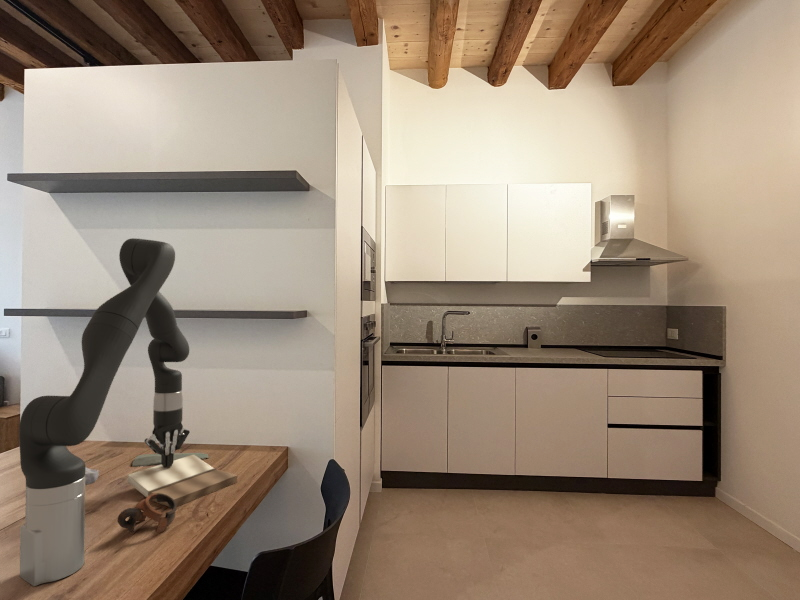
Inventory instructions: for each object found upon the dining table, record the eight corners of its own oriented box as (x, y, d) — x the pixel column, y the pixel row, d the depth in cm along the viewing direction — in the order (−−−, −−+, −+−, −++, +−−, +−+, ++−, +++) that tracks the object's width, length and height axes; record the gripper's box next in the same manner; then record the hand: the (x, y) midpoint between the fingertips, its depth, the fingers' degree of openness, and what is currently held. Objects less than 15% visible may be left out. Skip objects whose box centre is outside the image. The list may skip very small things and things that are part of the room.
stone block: (79, 479, 140) (42, 483, 131) (83, 462, 141) (46, 466, 132) (102, 488, 134) (65, 493, 126) (106, 471, 135) (70, 475, 127)
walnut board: (172, 508, 116) (172, 499, 116) (149, 499, 121) (149, 491, 121) (237, 482, 133) (237, 474, 133) (214, 475, 139) (214, 468, 139)
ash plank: (147, 498, 122) (148, 491, 122) (126, 481, 127) (128, 474, 127) (212, 474, 139) (213, 468, 139) (192, 460, 144) (193, 454, 144)
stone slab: (136, 462, 154) (131, 469, 144) (136, 454, 154) (131, 459, 145) (209, 456, 162) (208, 461, 152) (209, 448, 162) (209, 452, 153)
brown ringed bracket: (153, 516, 113) (170, 487, 113) (169, 545, 108) (187, 515, 108) (103, 522, 103) (121, 491, 103) (118, 554, 98) (138, 521, 98)
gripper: (153, 413, 126) (152, 476, 127) (196, 404, 138) (196, 462, 138) (137, 409, 130) (137, 471, 130) (181, 400, 142) (180, 457, 142)
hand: (167, 466), depth 134 cm, fingers closed
